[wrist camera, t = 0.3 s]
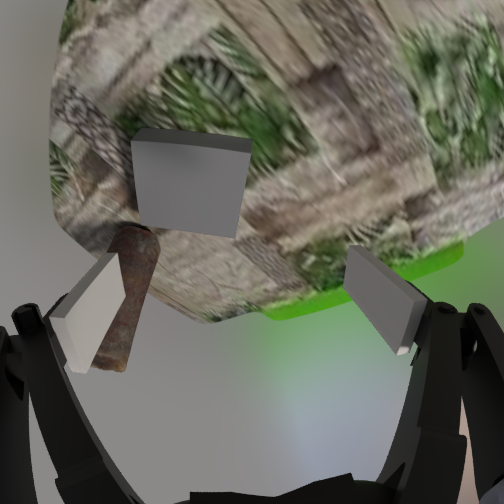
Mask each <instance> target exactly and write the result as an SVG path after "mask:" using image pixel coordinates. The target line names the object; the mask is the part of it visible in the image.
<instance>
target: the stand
mask: <svg viewBox="0 0 504 504" xmlns="http://www.w3.org/2000/svg"><path fill="white" fill-rule="evenodd" d="M252 141H253V139H246V138H240V137H233V136H226V135H219V134H211V133H202V132H193V131H182V130H171V129H157V128H141V129H140V130H139V131H138V132H137V134H136V135H135V136H134V137H133V138H132V140H131V150H132V161H133V170H134V179H135V187H136V195H137V202H138V209H139V216H140V222H141V225H143V226H151V227H158V228H165V229H172V230H179V231H186V232H193V233H200V234H207V235H214V236H221V237H228V238H235V237H236V231H237V226H238V220H239V215H240V209H241V204H242V199H243V193H244V188H245V183H246V178H247V173H248V167H249V162H250V157H251V151H252Z"/></svg>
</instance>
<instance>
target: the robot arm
mask: <svg viewBox="0 0 504 504" xmlns="http://www.w3.org/2000/svg"><path fill="white" fill-rule="evenodd" d="M343 288H344V289H345V291H346V292H347V293H348V294H349V296H350V297H351V298H352V299H353V301H354V302H355V303H356V304H357V305H358V307H359V308H360V309H361V310H362V312H363V313H364V314H365V316H366V317H367V318H368V319H369V321H370V322H371V323H372V324H373V326H374V327H375V328H376V329H377V331H378V332H379V333H380V335H381V336H382V337H383V339H384V340H385V341H386V342H387V344H388V345H389V346H390V348H391V349H392V350H393V352H394V353H395V354H396V355H401V354H405V353H409V352H410V350H411V347H412V345H413V342H415V343H416V344H417V345H418V348H417V350H416V353H415V355H414V358H413V360H412V362H411V366H413V369H412V374H411V378H410V382H409V386H408V391H407V395H406V399H405V403H404V406H403V410H402V414H401V417H400V420H399V424H398V427H397V431H396V433H395V436H394V439H393V442H392V445H391V448H390V451H389V454H388V456H387V459H386V462H385V464H384V467H383V469H382V471H381V473H380V475H379V477H378V478H377V480H376V481H375V482H374V481H365V480H354V479H353V477H352V474H351V473H347V474H344V475H340V476H336V477H332V478H328V479H324V480H319V481H315V482H312V483H310V484H308V485H305V486H303V487H300V488H298V489H296V490H293V491H290V492H288V493H285V494H283V495H280V496H276V497H267V496H257V495H248V494H241V493H235V492H190V500H187V501H182V502H179V503H175V504H456V503H457V499H458V495H459V491H460V486H461V481H462V476H463V470H464V464H465V456H466V449H467V438H466V436H464V435H459V426H460V415H461V397H462V399H463V403H464V408H465V413H466V418H467V423H468V428H469V435H470V440H471V448H472V456H473V465H474V476H475V485H476V490H477V495H478V499H479V504H504V333H503V331H502V329H501V328H500V326H499V324H498V323H497V321H496V319H495V318H494V316H493V315H492V313H491V312H490V310H489V309H488V308H487V307H485V306H484V305H482V304H480V303H479V304H478V303H471V304H469V307H468V309H467V312H466V313H458V311H457V309H456V308H455V307H454V306H452V305H450V304H448V303H445V302H435V303H434V302H433V301H432V300H431V299H430V298H428V297H427V296H426V295H425V294H424V293H421V291H420V290H419V289H417V287H415V286H414V285H413V284H412V283H410V282H408V281H406V280H404V279H403V278H401V277H400V276H399V275H398V274H397V273H395V272H394V271H393V270H392V269H390V268H389V267H388V266H387V265H385V264H384V263H383V262H382V261H380V260H379V259H378V258H377V257H375V256H374V255H373V254H371V253H370V252H369V251H368V250H366V249H365V248H364V247H362V246H361V245H349V249H348V257H347V265H346V272H345V278H344V285H343ZM125 297H126V296H125V291H124V286H123V281H122V276H121V270H120V265H119V259H118V253H105V254H104V255H103V256H102V257H101V258H100V259H99V260H98V262H97V263H96V264H95V265H94V266H93V267H92V268H91V269H90V270H89V271H88V272H87V273H86V274H85V276H84V277H83V278H82V279H81V280H80V281H79V282H78V283H77V284H76V286H75V287H74V288H73V289H72V290H71V291H70V292H69V293H67V294H65V295H63V296H62V297H60V298H59V300H58V301H57V302H56V303H55V305H53V307H52V308H51V309H50V310H49V311H48V312H47V314H46V315H45V316H44V317H43V318H42V315H41V312H40V310H39V307H38V305H37V304H34V303H28V304H24V305H22V306H19V307H18V308H17V309H15V310H14V311H13V313H12V315H11V317H12V319H13V322H14V324H15V327H16V329H17V331H18V334H19V335H12V336H9V335H8V333H7V331H6V329H5V327H3V326H0V504H38V502H37V497H36V491H35V486H34V479H33V473H32V464H31V454H30V441H29V393H30V397H31V401H32V405H33V408H34V412H35V415H36V418H37V421H38V424H39V428H40V430H41V433H42V436H43V439H44V442H45V445H46V447H47V450H48V452H49V455H50V457H51V460H52V462H53V465H54V467H55V469H56V471H57V474H58V478H57V479H55V484H56V487H57V489H58V492H59V493H60V496H61V498H62V499H63V502H64V503H65V504H145V503H144V502H143V501H142V500H141V499H140V497H139V496H138V495H137V494H136V493H135V492H134V490H133V489H132V487H131V486H130V485H129V483H128V482H127V481H126V479H125V478H124V477H123V475H122V474H121V472H120V471H119V469H118V468H117V466H116V465H115V463H114V462H113V460H112V459H111V457H110V456H109V454H108V453H107V451H106V450H105V448H104V447H103V445H102V443H101V441H100V440H99V438H98V436H97V435H96V433H95V431H94V429H93V427H92V426H91V424H90V422H89V420H88V418H87V416H86V415H85V413H84V411H83V408H82V406H81V405H80V402H79V400H78V398H77V397H76V394H75V392H74V390H73V388H72V385H71V383H70V381H69V378H68V376H67V374H66V372H65V369H64V365H65V364H66V362H68V365H69V367H70V369H71V371H72V372H79V373H87V371H88V369H89V367H90V365H91V363H92V361H93V359H94V356H95V354H96V352H97V350H98V348H99V346H100V344H101V342H102V340H103V338H104V336H105V334H106V332H107V330H108V328H109V326H110V324H111V323H112V321H113V319H114V317H115V315H116V313H117V311H118V309H119V308H120V306H121V304H122V302H123V300H124V298H125Z"/></svg>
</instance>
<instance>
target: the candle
mask: <svg viewBox="0 0 504 504" xmlns="http://www.w3.org/2000/svg"><path fill="white" fill-rule="evenodd" d="M160 251H161V250H160V245H159V242H158V240H157V238H156V236H155V235H154V234H152V233H151V232H149V231H147V230H143V229H141V228H137V227H134V226H126V227H123V228H121V229H119V230H118V231H117V233H116V234H115V236H114V238H113V240H112V242H111V245H110V247H109V249H108V251H107V253H118V259H119V265H120V270H121V276H122V281H123V286H124V291H125V296H126V297H125V298H124V300H123V302H122V304H121V306H120V308H119V309H118V311H117V313H116V315H115V317H114V319H113V321H112V323H111V324H110V326H109V328H108V330H107V332H106V334H105V336H104V338H103V340H102V342H101V344H100V346H99V348H98V350H97V352H96V354H95V356H94V359H93V361H92V363H91V365H90V367H95V368H99V369H103V370H114V371H116V372H124V371H125V369H126V366H127V361H128V357H129V354H130V350H131V346H132V342H133V338H134V334H135V331H136V327H137V323H138V320H139V317H140V313H141V309H142V306H143V303H144V299H145V296H146V293H147V290H148V287H149V284H150V281H151V278H152V275H153V272H154V269H155V266H156V263H157V260H158V257H159V255H160Z"/></svg>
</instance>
